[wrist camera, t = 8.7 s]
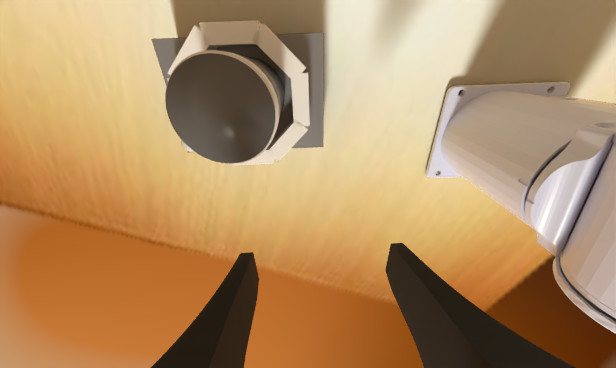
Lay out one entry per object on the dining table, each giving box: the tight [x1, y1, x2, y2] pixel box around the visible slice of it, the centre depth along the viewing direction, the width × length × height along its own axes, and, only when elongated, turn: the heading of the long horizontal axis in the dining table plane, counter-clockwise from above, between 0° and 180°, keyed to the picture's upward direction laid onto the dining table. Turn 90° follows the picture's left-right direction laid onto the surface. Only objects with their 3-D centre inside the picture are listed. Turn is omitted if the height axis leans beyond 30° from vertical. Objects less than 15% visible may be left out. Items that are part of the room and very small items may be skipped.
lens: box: [166, 50, 285, 164], centre depth 12 cm, size 5×5×6 cm
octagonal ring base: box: [152, 20, 324, 165], centre depth 15 cm, size 10×8×4 cm
